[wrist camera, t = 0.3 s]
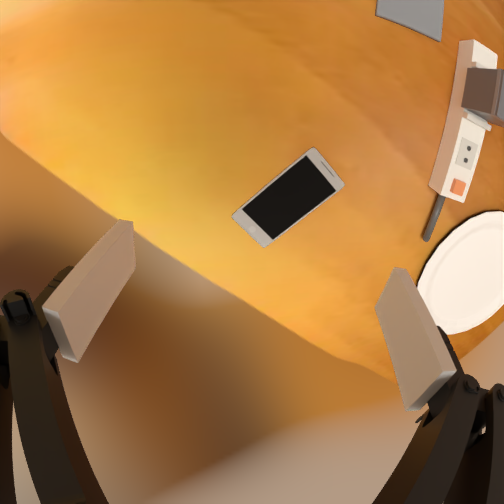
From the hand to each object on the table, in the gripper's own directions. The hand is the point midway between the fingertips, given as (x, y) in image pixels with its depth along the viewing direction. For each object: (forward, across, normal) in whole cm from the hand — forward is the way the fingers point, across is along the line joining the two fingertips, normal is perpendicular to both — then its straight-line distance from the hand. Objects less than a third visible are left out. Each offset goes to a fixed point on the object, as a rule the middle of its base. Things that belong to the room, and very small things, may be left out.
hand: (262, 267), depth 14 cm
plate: (+28, +44, -13) cm, 54 cm away
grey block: (+24, +26, +17) cm, 39 cm away
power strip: (+28, +26, +8) cm, 39 cm away
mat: (+28, +15, +28) cm, 42 cm away
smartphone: (+28, +4, -7) cm, 29 cm away
